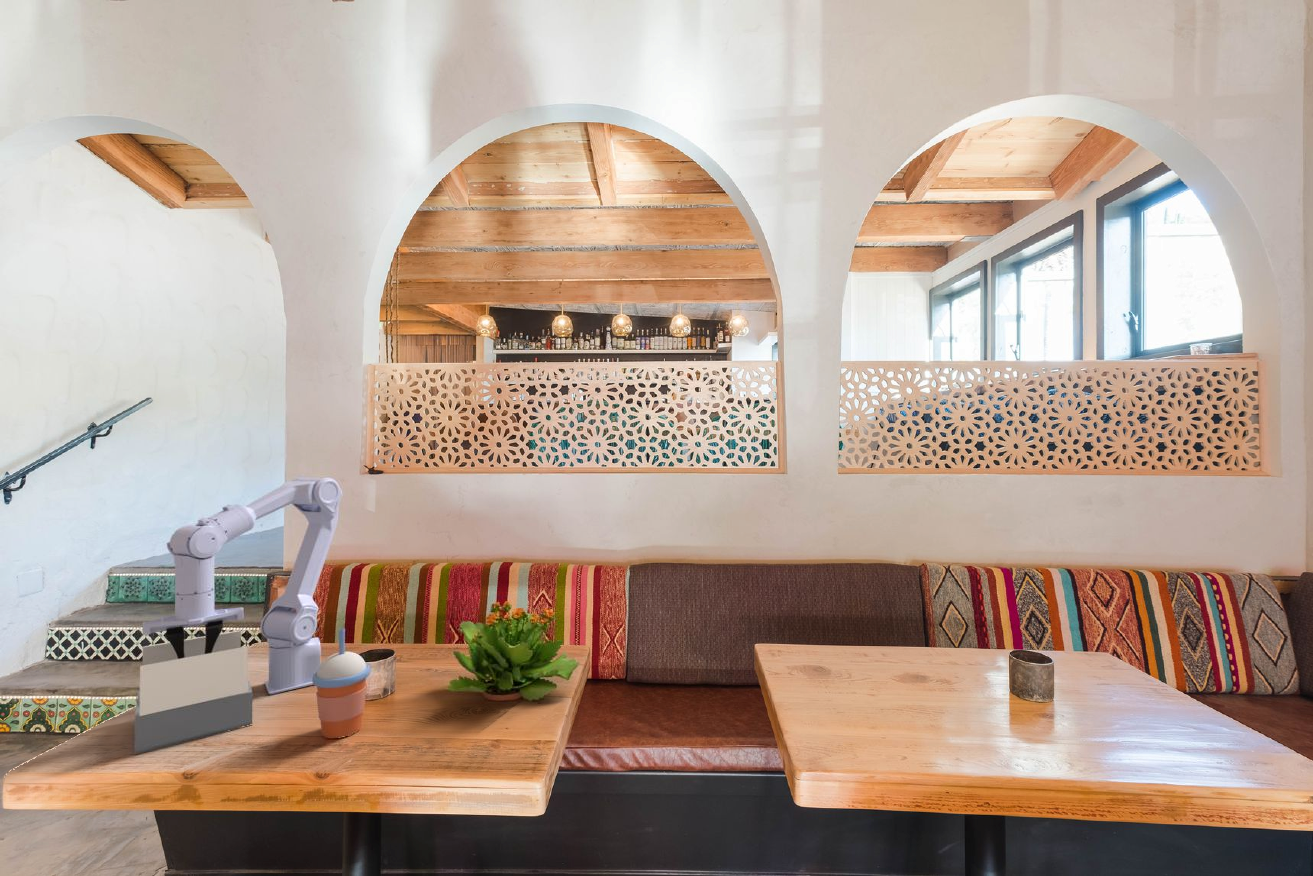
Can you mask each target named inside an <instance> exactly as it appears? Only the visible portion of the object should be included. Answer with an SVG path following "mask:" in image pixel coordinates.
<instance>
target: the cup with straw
mask: <svg viewBox="0 0 1313 876" xmlns="http://www.w3.org/2000/svg"><path fill="white" fill-rule="evenodd" d="M345 633H346V628H340V629H338V652H336V653H333V654H332V655H330V656H327V658H326V659H324V660H323V662H321V665H320V667H319V669H318V671H317V672H315V674H314V675H313V678H312V682H313V684H314V685H313V686H315V687H316V703H317V711H318V719H319V720H320V728H321V735H322V737H323V736H324V737H323V738H325V737H326V738H325V739H327V738H339V737H342V736H348V735H350V734H352V733H355V732H356V733H357V731H358V730H359V731H360V730H361V728H362V722H363V714H364V711H365V704H366V693H367V685H368V684H367V678H368V677H369V676H370V675H371V666H370V665H369V664H368V663H367V662H366V661H365V660H364V658H363V656H361V655H360V654H358V653H355V652H352V651H345V650H346V646H345V645H346V641H345V640H346V637H345V636H346V634H345ZM359 731H358V732H359ZM356 733H355V734H356ZM350 736H351V735H350ZM348 737H349V736H348ZM339 739H340V738H339Z"/></svg>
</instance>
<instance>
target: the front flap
mask: <svg viewBox="0 0 1313 876" xmlns="http://www.w3.org/2000/svg"><path fill="white" fill-rule="evenodd" d="M248 652H249V651H248V646H241V648H236V649H230V650H225V651H220V652H214V653H209V654H203V655H198V656H192V657H187V658H181V659H176V660H170V661H165V662H160V663H154V664H149V665H143V664H142V665H140V666H139V669H140V670H139V672H140V673H139V688H140V716H143V715H147V714H152V713H156V712H160V711H165V710H169V709H174V708H178V707H183V706H187V705H192V704H196V703H201V702H205V701H210V700H214V699H219V698H223V697H227V696H232V695H236V694H241V693H245V692H248V681H249V663H248V662H249V659H248V658H249V656H248Z"/></svg>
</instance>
